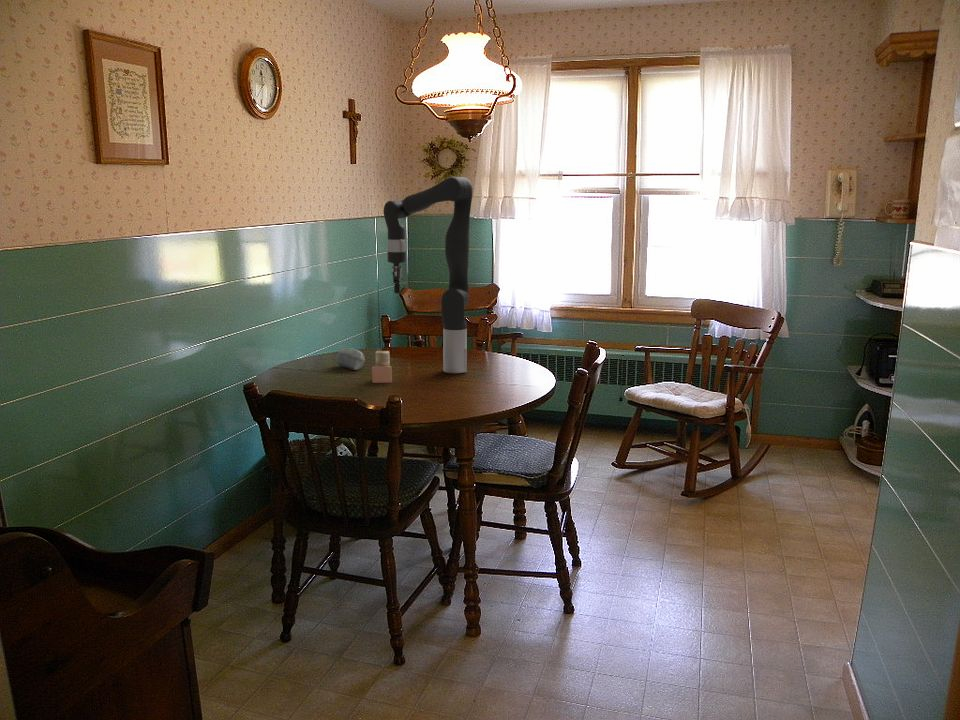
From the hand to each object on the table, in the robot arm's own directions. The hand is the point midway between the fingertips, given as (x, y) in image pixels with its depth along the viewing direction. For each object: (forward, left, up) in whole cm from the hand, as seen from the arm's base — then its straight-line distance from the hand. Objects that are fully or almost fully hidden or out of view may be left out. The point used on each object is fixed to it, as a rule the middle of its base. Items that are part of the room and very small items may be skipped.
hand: (397, 292), depth 317 cm
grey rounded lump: (+18, +13, -29) cm, 37 cm away
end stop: (+3, +37, -29) cm, 47 cm away
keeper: (+3, +34, -29) cm, 45 cm away
